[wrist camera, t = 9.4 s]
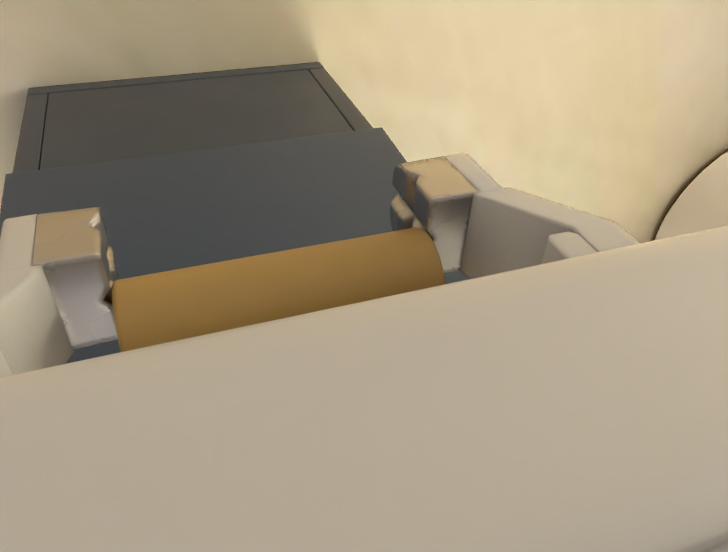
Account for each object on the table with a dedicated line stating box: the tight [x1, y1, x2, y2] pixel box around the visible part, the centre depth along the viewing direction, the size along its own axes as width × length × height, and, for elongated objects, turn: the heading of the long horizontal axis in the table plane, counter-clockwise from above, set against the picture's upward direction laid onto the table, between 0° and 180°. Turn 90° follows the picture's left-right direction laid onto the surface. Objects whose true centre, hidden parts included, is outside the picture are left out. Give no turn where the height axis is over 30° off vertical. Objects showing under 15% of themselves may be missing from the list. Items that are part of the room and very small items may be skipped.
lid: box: [0, 128, 471, 364], centre depth 15 cm, size 13×13×5 cm
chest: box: [13, 62, 373, 173], centre depth 28 cm, size 13×13×8 cm
